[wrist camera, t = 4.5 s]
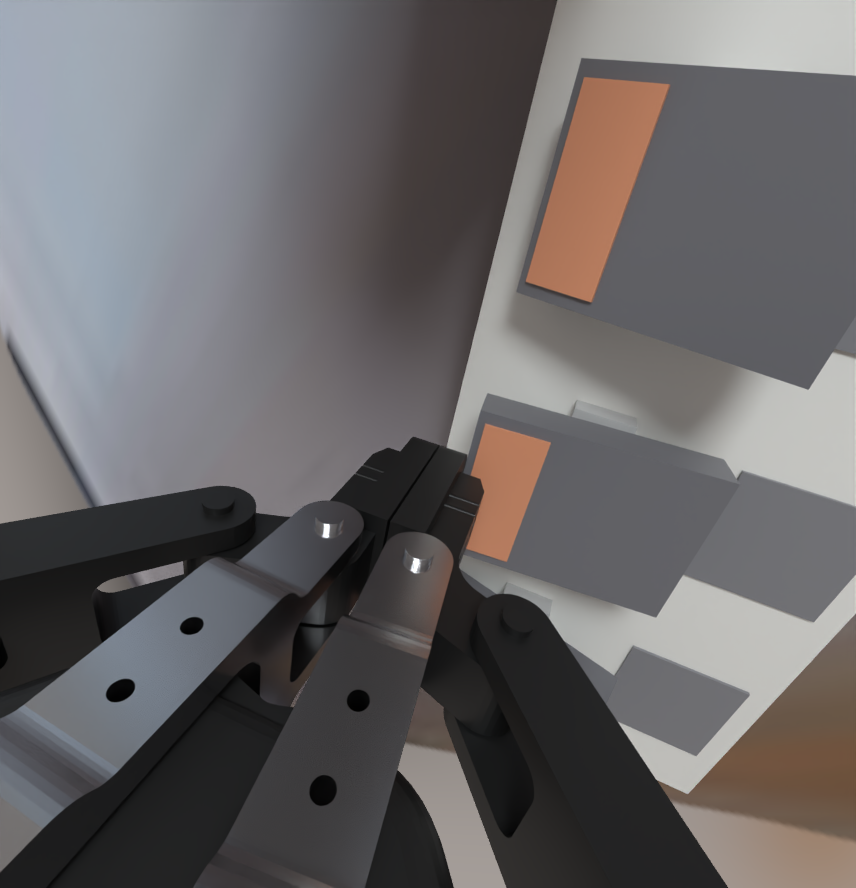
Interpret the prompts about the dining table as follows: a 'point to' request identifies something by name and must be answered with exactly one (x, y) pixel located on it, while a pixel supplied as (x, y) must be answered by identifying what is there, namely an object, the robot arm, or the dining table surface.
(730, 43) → the power strip
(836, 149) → the plate
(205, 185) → the dining table surface
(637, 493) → the block
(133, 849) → the robot arm
